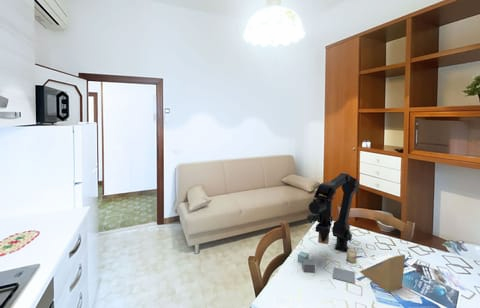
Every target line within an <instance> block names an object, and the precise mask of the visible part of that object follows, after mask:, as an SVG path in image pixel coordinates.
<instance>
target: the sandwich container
mask: <svg viewBox="0 0 480 308" xmlns="http://www.w3.org/2000/svg"><path fill="white" fill-rule="evenodd" d="M405 260H406V254H399V255H395V256H391V257H388V258H386V259H384V260H383V261H380V262H379V263H375V264H374V265H372V266H368V267H367V268H364V269H362V270H359V272H360V274H362V275H363V276H365V277H366V278H368V279H369V280H370V281H371V282H373V283H374V284H376V285H377V286H379V287H380V288H382V289H383V290H384V291H385V292H387V293H389V292H392V291H395V290H399V289H402V288H403V281H404V280H403V279H404V270H405Z"/></svg>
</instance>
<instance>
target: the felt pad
mask: <svg viewBox="0 0 480 308" xmlns="http://www.w3.org/2000/svg"><path fill="white" fill-rule="evenodd" d="M332 272H333V273H332V279H333V280H337V281H341V282H346V283H349V284H353V285H356V276H355V275H356V272H355V271H352V270H348V269H344V268H343V269H342V268H339V267H333V271H332Z"/></svg>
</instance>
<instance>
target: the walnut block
mask: <svg viewBox="0 0 480 308" xmlns="http://www.w3.org/2000/svg"><path fill="white" fill-rule="evenodd" d="M317 238H318V240H317V241H318V242H317V243H319V244H324V245H329V240H330V233H329V234H328V236H327V238H326V239H325V241H324V242H322V239H321V235H320V232H318V237H317Z"/></svg>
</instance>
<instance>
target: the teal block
mask: <svg viewBox="0 0 480 308" xmlns="http://www.w3.org/2000/svg"><path fill="white" fill-rule="evenodd" d="M309 256H310V253H308V252H304V251H303V250H302V251H300V252H299V253H297V263H300V264H302V259H310V257H309Z"/></svg>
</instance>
